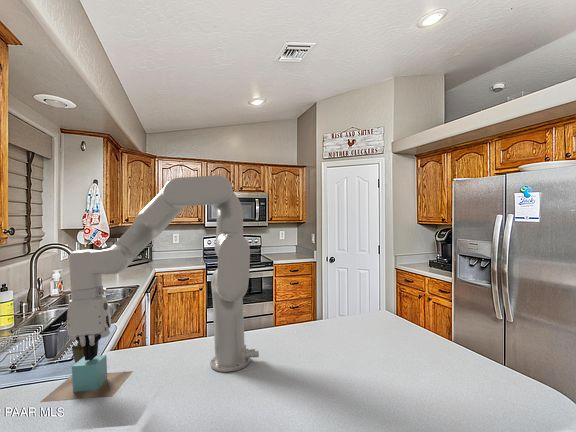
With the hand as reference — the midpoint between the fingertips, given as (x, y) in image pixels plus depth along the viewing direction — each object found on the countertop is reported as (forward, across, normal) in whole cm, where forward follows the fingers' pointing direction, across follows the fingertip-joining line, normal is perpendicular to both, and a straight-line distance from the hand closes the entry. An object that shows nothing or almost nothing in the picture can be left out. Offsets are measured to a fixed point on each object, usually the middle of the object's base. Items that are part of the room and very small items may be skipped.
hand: (90, 358), depth 93 cm
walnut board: (+9, 0, 0) cm, 9 cm away
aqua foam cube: (+8, 0, 0) cm, 8 cm away
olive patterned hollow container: (+9, +10, -15) cm, 20 cm away
